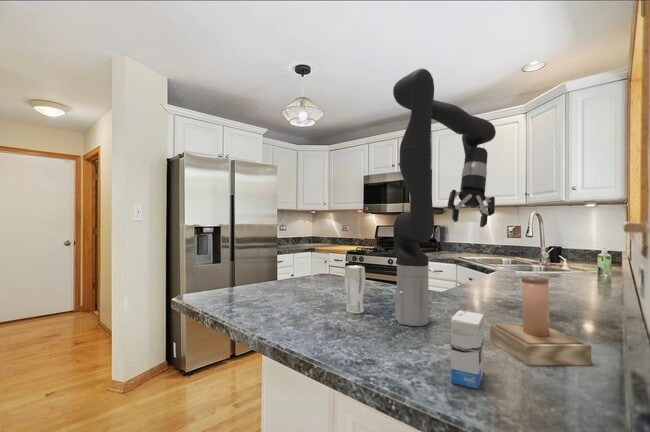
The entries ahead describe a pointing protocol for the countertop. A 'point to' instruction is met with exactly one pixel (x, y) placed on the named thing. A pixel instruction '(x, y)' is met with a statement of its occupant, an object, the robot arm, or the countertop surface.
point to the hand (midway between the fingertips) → (469, 224)
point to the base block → (540, 346)
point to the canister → (535, 305)
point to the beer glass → (354, 288)
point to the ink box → (467, 349)
